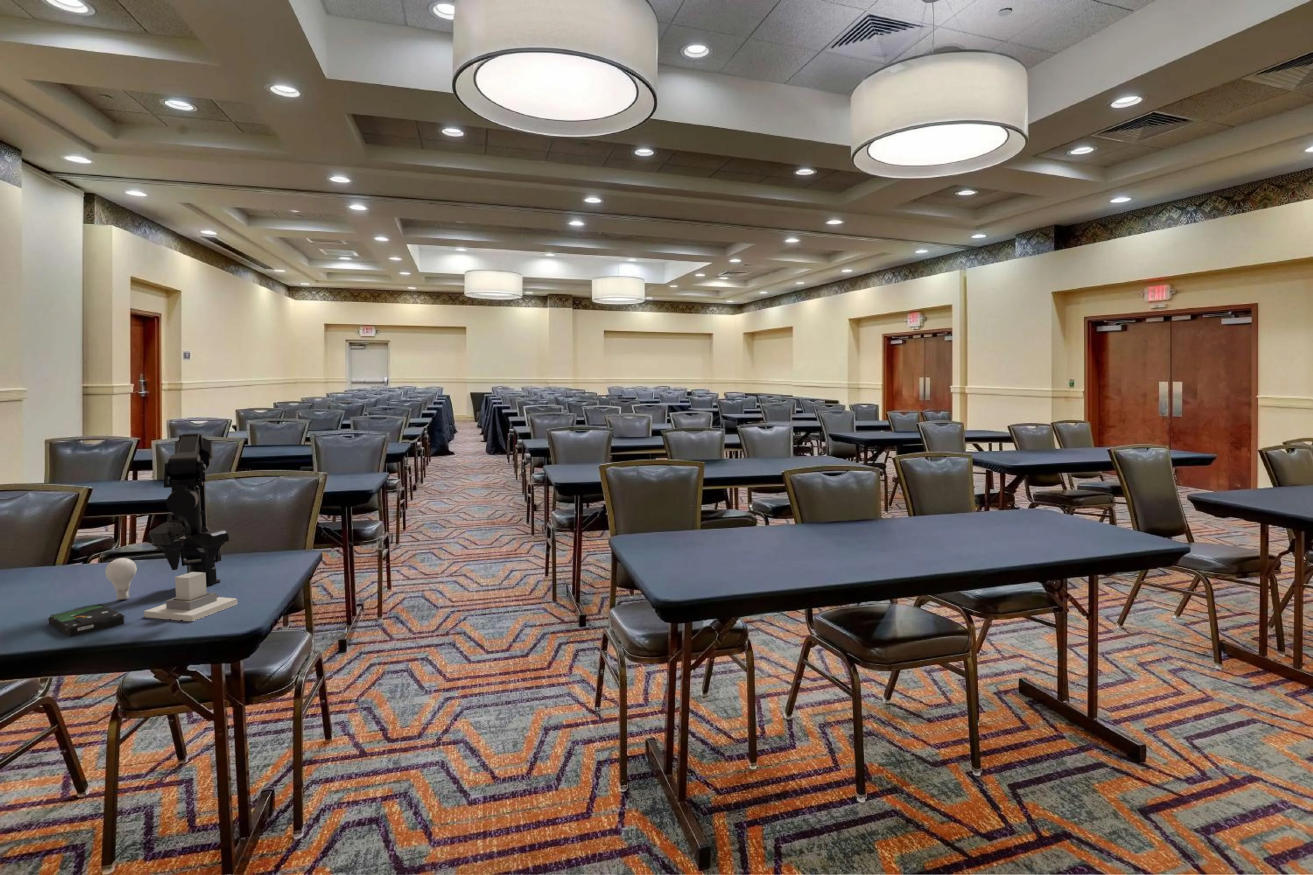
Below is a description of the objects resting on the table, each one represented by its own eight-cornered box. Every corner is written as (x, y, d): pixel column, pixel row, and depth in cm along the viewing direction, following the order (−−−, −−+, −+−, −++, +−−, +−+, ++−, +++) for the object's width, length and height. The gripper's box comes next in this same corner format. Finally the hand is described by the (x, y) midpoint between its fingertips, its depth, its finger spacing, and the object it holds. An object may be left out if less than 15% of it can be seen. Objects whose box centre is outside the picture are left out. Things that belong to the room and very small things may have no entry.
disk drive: (126, 626, 160) (101, 613, 169) (125, 614, 160) (100, 602, 168) (70, 639, 152) (47, 626, 160) (69, 627, 152) (46, 614, 160)
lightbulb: (144, 597, 180) (141, 556, 179) (118, 604, 174) (115, 562, 173) (127, 595, 182) (125, 554, 181) (101, 602, 176) (98, 560, 175)
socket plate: (144, 617, 165) (143, 602, 164) (192, 600, 177) (191, 587, 177) (192, 621, 162) (191, 607, 161) (237, 604, 174) (236, 590, 174)
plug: (176, 607, 167) (174, 577, 167) (193, 601, 172) (192, 571, 172) (190, 608, 167) (188, 577, 166) (207, 602, 171) (205, 572, 171)
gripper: (123, 512, 162) (127, 577, 163) (188, 515, 157) (192, 582, 159) (167, 504, 172) (170, 565, 174) (229, 507, 168) (232, 569, 169)
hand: (190, 570), depth 169 cm, fingers open, 9 cm apart
